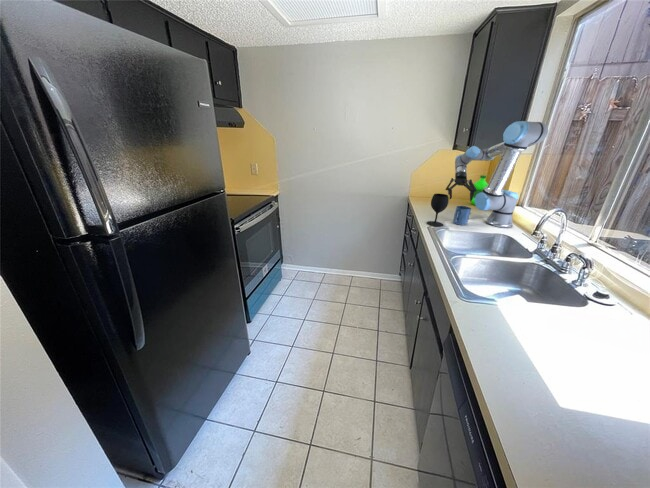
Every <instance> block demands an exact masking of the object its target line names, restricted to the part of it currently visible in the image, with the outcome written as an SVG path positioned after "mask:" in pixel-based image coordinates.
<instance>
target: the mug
mask: <svg viewBox="0 0 650 488" xmlns="http://www.w3.org/2000/svg"><path fill="white" fill-rule="evenodd" d="M471 211H472V208H471V207H469V206H467V205H456V206H455V211H454V215H453V218H452V223H453V224H455V225H459V226H467V225H468V223H469V218H470V215H471Z"/></svg>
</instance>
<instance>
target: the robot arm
mask: <svg viewBox="0 0 650 488" xmlns="http://www.w3.org/2000/svg"><path fill="white" fill-rule="evenodd" d="M548 133H549V127H548V126H547V124H546V123H544V122H541V121H526V120H521V121H520V120H519V121H518V120H517V121H514V122H512V123H511V124H509V125H508V126H507V127H506V128H505V130H504V132H503V134H502V140H503V141H502V142H500V143H497V144H495V145H493V146H490V147H488V148H484V149H482V150H481V149H480V147H478V146H476V145H472V146H471V147H469V148H468V149H466V150H465V152H464V153H462V154H461V153H460V154H458V155H456V157H455V158H454V159H455V160H454V178H453V177H451V178H450V181H449V183H448V184H447V186H446V187H445V191H447V195H448V196H449V200H451V199H452V198H453V189H454V188H455V187H457V186H459V187H461V186H462V187H464V188H466V189H467V190H468V191H469V202H470V201H472V199H473V196H474V192H476V191H477V189H476V187H475V186H474V182H473V180H472V179H468V175H467V174H468V172H467V169H468V167H467V165H469V164H470V163H471V162H472V161H476V162H477V161H482V162H484V161H485V162H489V161H492V160H494V159H495V158H496V157H499V156H500V158H499V160H498V162H497V165H496V166H495V169H494V171H493V173H492V175H491V177H490V180H489V182H488V186H487V187H485V188H484V189H483V191H482V192H480V193H479V194H477V195H476V197H475V205H474V206H475V207H476V208H477V210H479V211H485V212H486V211H491V213H490V214H489V215H488V216H487V218H486V221H485V222H486V224H488V225H490V226H492V227H497V228H504V229H509V228H512V227H513V223H514V222H513V215H514V211H515V208H516V206H517V203H518V201H519V192H515V191H512V190H507V189H504V188H505V186H506V184H507V182H508V180H509V178H510V176H511V174H512V172H513V170H514V168H515V166H516V164H517V162H518V160H519V158H520V156H521V154H522V152H524V151H526V150H527V148H528V147H532V146H535V145H537V144H540V143H542V142H543V141H544V140H545V139H546V138H547V136H548ZM452 183H453V184H452Z"/></svg>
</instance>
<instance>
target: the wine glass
mask: <svg viewBox="0 0 650 488" xmlns="http://www.w3.org/2000/svg"><path fill="white" fill-rule="evenodd" d="M449 201H450V196H449V195H448V194H446V193H434V194H433V195H432V197H431V200H430V205H431V206H430V208H431V209H432V210H433V211H434V212H435V218H434V220H429V221H426V225H428V226H430V227H435V228H440V227H443V226H444V224H443V223H442V222H439V221H437V220H438V216H439V214H440V213H442V212H444V211H445V210H446V209H447V207H448V206H449Z"/></svg>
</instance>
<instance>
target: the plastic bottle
mask: <svg viewBox="0 0 650 488" xmlns="http://www.w3.org/2000/svg"><path fill="white" fill-rule="evenodd" d="M479 178H480V179H479V180H477V181H475V182H473V184H474V186H475V187H476V189H477V191H476V192H474V196H473V199H472V201H470V200H469V202H470V203H471V204H472V205H473V206H476V205H475V197H476V195H477V194H479V193H480V192H482V191H483V189H484V188H485V187H487V186H488V184H489V182H487V181H486V178H487V175H483V174H481V175H480V176H479Z"/></svg>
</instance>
